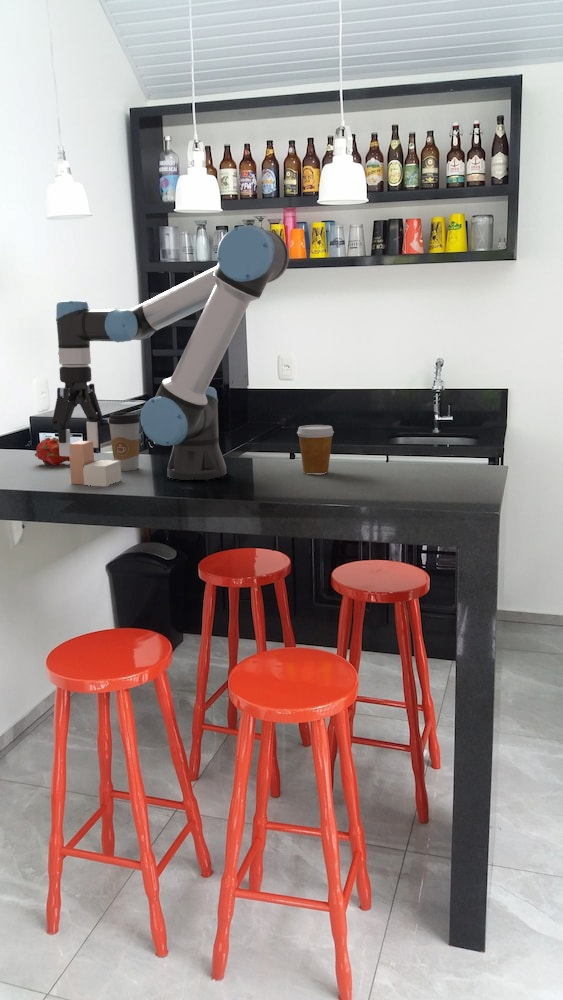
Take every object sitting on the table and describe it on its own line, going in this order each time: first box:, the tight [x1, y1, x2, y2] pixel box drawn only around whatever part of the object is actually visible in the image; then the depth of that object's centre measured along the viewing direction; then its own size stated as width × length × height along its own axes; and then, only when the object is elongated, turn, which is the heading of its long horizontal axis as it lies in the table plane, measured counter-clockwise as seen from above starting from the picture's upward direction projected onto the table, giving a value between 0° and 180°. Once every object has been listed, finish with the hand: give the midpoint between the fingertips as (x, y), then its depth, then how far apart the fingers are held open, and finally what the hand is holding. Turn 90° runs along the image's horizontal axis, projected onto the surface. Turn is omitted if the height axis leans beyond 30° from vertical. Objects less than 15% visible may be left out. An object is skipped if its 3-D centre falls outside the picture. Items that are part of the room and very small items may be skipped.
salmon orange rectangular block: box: [69, 440, 95, 485], centre depth 208 cm, size 4×5×10 cm
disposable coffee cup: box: [296, 424, 335, 473], centre depth 214 cm, size 10×10×12 cm
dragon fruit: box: [34, 437, 70, 467], centre depth 233 cm, size 8×8×12 cm
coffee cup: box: [108, 411, 141, 472], centre depth 224 cm, size 8×8×15 cm
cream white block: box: [83, 459, 122, 487], centre depth 207 cm, size 6×8×5 cm
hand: (79, 451), depth 207 cm, fingers open, 13 cm apart
